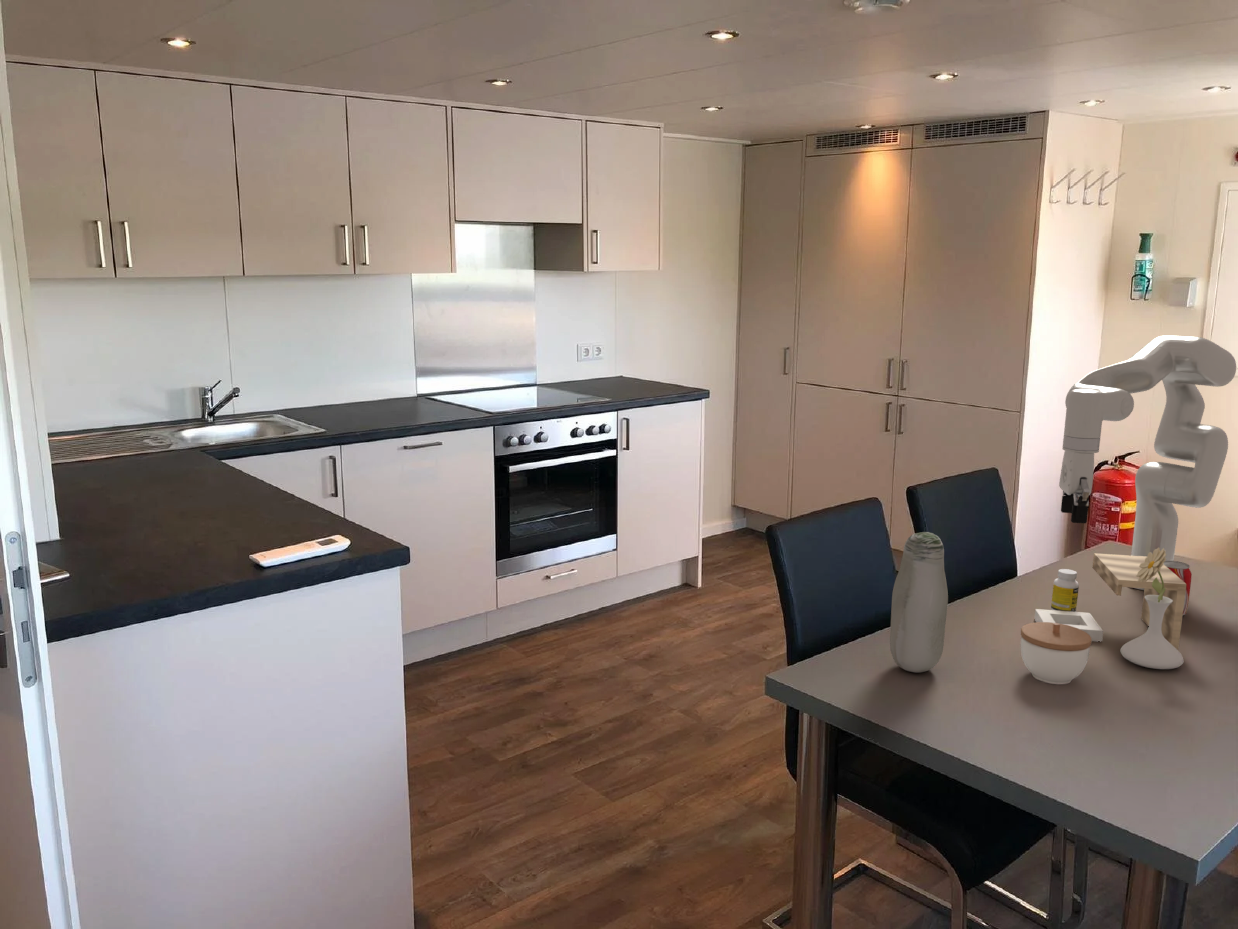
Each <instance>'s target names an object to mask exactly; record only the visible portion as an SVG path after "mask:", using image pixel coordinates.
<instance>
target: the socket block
mask: <svg viewBox="0 0 1238 929" xmlns="http://www.w3.org/2000/svg"><path fill="white" fill-rule="evenodd" d="M1034 619H1035V620H1034V621H1035V622H1050V623H1059V624H1064V625H1069V626H1072V627H1075V628H1078V629H1080V630H1082V631H1084V632H1086V633H1088V634H1089V635H1090V637H1091V639H1092V641H1091V642H1098V641H1100V643H1101V641H1102V642H1103V637H1104V630H1103V628H1102V627H1101V626H1100V625H1099V624H1098V622H1097V621H1096V620H1095V618H1094V617H1093V615H1092V614H1091V613H1090V612H1084V611H1076V612H1071V611H1057V610H1051V609H1043V608H1042V609H1041V608H1035V609H1034Z"/></svg>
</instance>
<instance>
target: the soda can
mask: <svg viewBox="0 0 1238 929" xmlns="http://www.w3.org/2000/svg"><path fill="white" fill-rule="evenodd" d="M1164 565H1165V566H1166V567H1167V568H1169V569H1170V570H1171V571H1172V572H1173V573H1174V574H1175V575H1177V576H1178V577H1179V578H1180V579H1181V580H1182V581H1183V582H1185V583H1186V592H1185V600H1184V608H1183V616H1184V615H1186V614H1187V610H1188V607H1189V602H1190V596H1191V595H1190V594H1191V584H1192V571H1191V568H1190V567H1191V566H1190V565H1189V564H1188V563H1185V562H1183V561H1182V562H1181V561H1176V560H1174V561H1165V562H1164Z"/></svg>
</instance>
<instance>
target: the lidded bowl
mask: <svg viewBox="0 0 1238 929" xmlns="http://www.w3.org/2000/svg"><path fill="white" fill-rule="evenodd" d="M1092 642H1093V641H1092V639H1091V637H1090V635H1089V634H1088V633H1086V632H1084V631H1082V630H1080V629H1078V628H1075V627H1072V626H1069V625H1064V624H1059V623H1050V622H1036V621H1035V622H1030V623H1026V624H1024V625H1022V626H1021V628H1020V654H1021V655H1020V656H1021V658H1022V662H1023V664H1024V665H1025V667H1026V668H1027V670H1028V671H1029V672H1030V673H1031V676H1032V677H1033V678H1034V679H1036V680H1038V681H1040V682H1042V683H1045V684H1052V685H1067V684H1069V683H1070V684H1071V682H1072V680H1075V679H1076V678H1077V677H1079V675H1081V674H1082V672H1084V670H1085V668H1086V666H1087V663H1088V660H1089V656H1090V650H1091V645H1092Z"/></svg>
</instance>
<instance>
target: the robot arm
mask: <svg viewBox="0 0 1238 929" xmlns="http://www.w3.org/2000/svg"><path fill="white" fill-rule="evenodd" d="M1236 372H1237V362H1236V359H1235V357H1234V356H1233V354H1232V353H1231V352H1230V351H1228V350H1227V349H1225V348H1223V347H1222V346H1220V345H1219V344H1217V343H1215V342H1214V341H1212V340H1210V339H1207V338H1204V337H1199V336H1190V335H1189V336H1185V335H1166V334H1164V335H1159V336H1157V337H1155V338H1153V339H1151V340H1150V341H1149V342H1148V343H1147V344H1146V345H1145V346H1143V347H1142V348H1140V349H1139V350H1138V351H1137V352H1136V353H1135V354H1133V355H1132V356H1131V357H1130V358H1129V359H1127V360H1123V361H1121V362H1118V363H1114V364H1111V365H1108V366H1105V367H1102V368H1099V369H1098V368H1097V369H1096V370H1092V371H1091V372H1089V373H1087V374H1085V375H1084V376H1082V378H1080V379H1079V380H1077V381H1076V382H1075V383H1074V384H1073V385H1072V386H1071V388H1070V389H1069V390H1068V392H1067V394H1066V397H1065V402H1064V403H1065V408H1066V410H1065V412H1066V413H1065V421H1064V432H1063V439H1062V450H1063V451H1064V452H1063V458H1062V462H1061V468H1060V477H1059V484H1058V487H1059V488H1060V489H1061V490H1062V496H1061V505H1060V506H1061V507H1060V512H1061V513H1064V514H1065V513H1066V514H1071V518H1070V522H1071V523H1072V524H1087V522H1088V513H1089V505H1090V504H1089V503H1090V502H1089V500H1090V495H1091V493H1092V489H1093V480H1094V472H1095V471H1094V470H1095V468H1094V467H1095V454H1097V453H1099V452H1100V445H1101V435H1102V434H1101V433H1102V425H1103V421H1106V422H1121V421H1123V420H1125V419H1127V418H1128V417H1130V415H1131V414H1132V412H1133V411H1134V408H1135V401H1134V397H1133V396H1132V394H1138V393H1142V392H1147V391H1149V390H1151V389H1153V388H1154V387H1155V386H1157V385H1158V384H1159V383H1160V382H1161V381H1162V384H1163V387H1164V391H1165V395H1166V397H1165V398H1166V399H1165V401H1166V402H1165V406H1164V410H1163V413H1162V416H1161V419H1160V422H1159V424H1158V428H1157V430H1156V431H1157V432H1156V435H1155V439H1154V444H1153V448H1154V451H1155V453H1156V454H1157V455H1159V456H1160V457H1162V458H1167V459H1170V460H1175V461H1176V460H1177V461H1181V462H1188V463H1189V462H1190V463H1193V464H1194V467H1193V466H1187V465H1180V464H1175V463H1170V462H1163V461H1150V462H1146V463H1144V464H1142V465H1141V466H1140V467H1138V469H1137V470H1136V474H1135V478H1134V479H1135V480H1134V482H1135V483H1134V485H1135V486H1134V487H1135V493H1136V494H1135V496H1136V505H1135V506H1136V507H1135V520H1134V528H1133V529H1134V530H1133V536H1132V546H1131V554H1130V556H1147V555H1148V553H1150V552H1151V553H1152V555H1153V552H1154V550H1155V549H1157V548H1160V551H1161V550H1162V549H1163V548H1164V551H1166V553H1165V554H1166V557H1165V558H1166V560H1165V561H1175V560H1174V559H1175V553H1176V545H1177V538H1178V528H1179V516H1178V512H1177V511H1176V508H1175V506H1174V505H1178V506H1179V505H1180V506H1183V507H1191V508H1198V509H1199V508H1204V507H1206V506H1208V505H1209V504H1210V503H1211V501H1212V499H1213V497H1214V494H1215V492H1216V489H1217V486H1218V483H1219V480H1220V477H1221V474H1222V470H1223V467H1224V465H1225V461H1226V458H1227V454H1228V450H1229V438H1228V435H1227V433H1226V431H1225V430H1223V428H1221V427H1218V426H1215V425H1209V424H1202V423H1201V422H1202V419H1203V415H1204V412H1205V409H1206V408H1205V407H1206V406H1205V405H1206V404H1205V401H1204V400H1205V399H1204V398H1203V395H1202V393H1201V392H1200V390H1199V389H1198V387H1197V386H1205V387H1207V386H1208V387H1218V388H1219V387H1224V386H1226V385H1228V384H1230V383H1231V381H1232V380H1233V379H1234V378H1235V376H1236ZM1135 589H1136V590H1137V589H1138V590H1141V591H1144V589H1145V588H1135Z"/></svg>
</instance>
